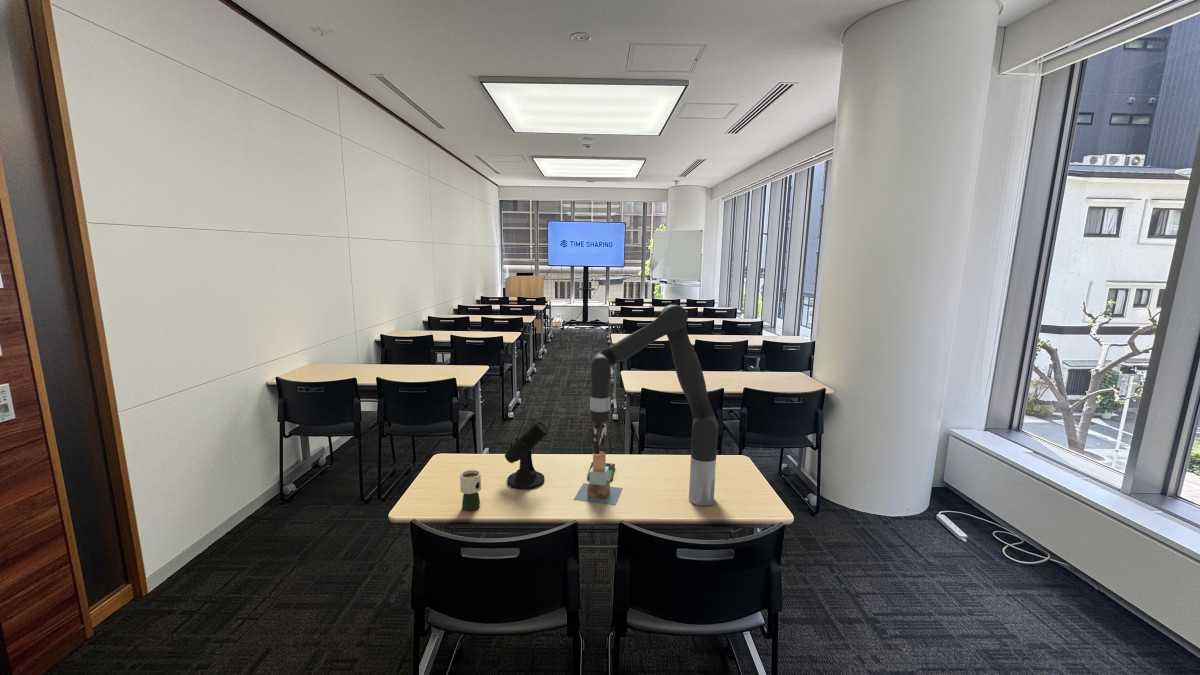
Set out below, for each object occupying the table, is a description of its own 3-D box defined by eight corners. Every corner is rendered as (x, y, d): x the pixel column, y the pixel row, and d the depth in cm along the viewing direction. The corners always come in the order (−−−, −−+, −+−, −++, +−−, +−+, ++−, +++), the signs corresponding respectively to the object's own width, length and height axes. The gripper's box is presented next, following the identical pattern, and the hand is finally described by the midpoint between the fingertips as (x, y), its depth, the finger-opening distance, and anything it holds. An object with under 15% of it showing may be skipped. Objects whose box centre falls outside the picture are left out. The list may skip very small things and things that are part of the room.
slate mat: (622, 490, 190) (622, 488, 189) (615, 507, 176) (615, 505, 176) (583, 485, 193) (583, 483, 193) (573, 501, 180) (573, 499, 180)
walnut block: (609, 490, 187) (610, 478, 186) (605, 499, 180) (605, 486, 180) (592, 488, 189) (592, 476, 188) (587, 496, 182) (587, 484, 181)
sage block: (608, 479, 186) (608, 466, 185) (604, 486, 180) (605, 473, 179) (593, 477, 187) (593, 464, 187) (589, 484, 182) (589, 471, 181)
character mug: (478, 515, 169) (477, 480, 167) (457, 515, 169) (456, 480, 167) (483, 500, 180) (483, 467, 178) (464, 500, 179) (463, 467, 177)
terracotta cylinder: (606, 467, 185) (606, 452, 184) (603, 472, 180) (604, 457, 179) (594, 465, 186) (594, 450, 185) (591, 470, 181) (591, 455, 180)
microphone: (545, 490, 188) (545, 428, 184) (501, 489, 189) (500, 427, 185) (550, 473, 203) (550, 416, 199) (509, 472, 203) (508, 415, 199)
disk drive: (591, 468, 211) (586, 483, 196) (591, 461, 210) (586, 476, 196) (614, 469, 210) (612, 484, 195) (615, 463, 209) (612, 478, 195)
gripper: (605, 414, 171) (605, 458, 174) (613, 403, 185) (613, 443, 188) (585, 412, 173) (584, 455, 176) (594, 401, 187) (594, 441, 189)
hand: (599, 449), depth 182 cm, fingers open, 8 cm apart
